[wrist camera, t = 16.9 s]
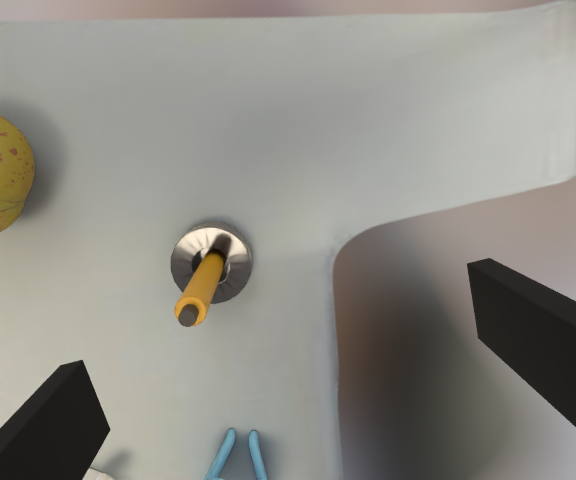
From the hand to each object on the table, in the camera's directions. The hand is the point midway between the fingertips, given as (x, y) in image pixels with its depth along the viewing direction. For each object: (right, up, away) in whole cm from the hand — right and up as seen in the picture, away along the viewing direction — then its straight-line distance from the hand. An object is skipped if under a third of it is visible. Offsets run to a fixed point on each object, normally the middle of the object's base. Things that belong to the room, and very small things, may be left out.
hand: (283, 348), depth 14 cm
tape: (-7, +2, +29) cm, 30 cm away
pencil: (-7, +2, +29) cm, 30 cm away
